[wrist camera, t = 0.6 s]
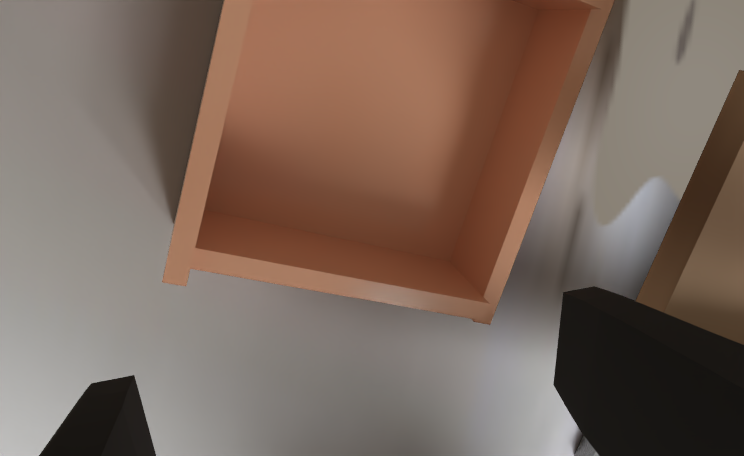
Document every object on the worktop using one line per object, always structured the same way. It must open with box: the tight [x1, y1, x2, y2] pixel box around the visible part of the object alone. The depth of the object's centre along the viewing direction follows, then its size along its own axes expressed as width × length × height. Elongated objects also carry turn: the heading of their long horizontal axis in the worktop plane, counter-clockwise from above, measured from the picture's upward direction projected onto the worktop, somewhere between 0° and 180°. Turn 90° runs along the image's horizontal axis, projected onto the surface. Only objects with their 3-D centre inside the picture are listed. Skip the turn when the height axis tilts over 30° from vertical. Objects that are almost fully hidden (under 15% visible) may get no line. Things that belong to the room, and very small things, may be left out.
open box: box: [162, 0, 615, 325], centre depth 18 cm, size 11×10×4 cm
